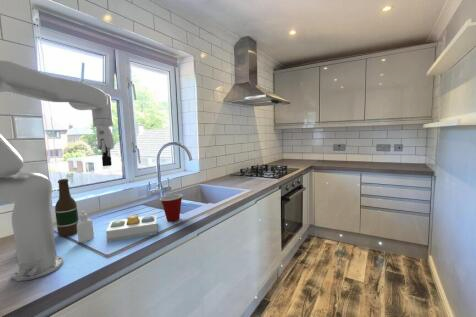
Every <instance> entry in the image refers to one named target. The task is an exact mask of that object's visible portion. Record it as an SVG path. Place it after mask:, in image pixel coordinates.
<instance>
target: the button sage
mask: <svg viewBox="0 0 476 317" xmlns="http://www.w3.org/2000/svg"><path fill="white" fill-rule="evenodd" d="M116 220H117V221H114V220H113V221H114V222H112V227H118V226H124V222H123V220H121V219H116Z"/></svg>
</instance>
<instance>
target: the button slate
mask: <svg viewBox="0 0 476 317" xmlns="http://www.w3.org/2000/svg"><path fill="white" fill-rule="evenodd" d="M145 216H146V217H143V218H142V219H143V223H145V222H152V221H153V216H150V215H145Z"/></svg>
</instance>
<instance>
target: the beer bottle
mask: <svg viewBox="0 0 476 317" xmlns="http://www.w3.org/2000/svg"><path fill="white" fill-rule="evenodd" d="M57 183H58V200H57V202H56V203H55V208H54V213H55V221H56V228H57V235H58V236H59V237H63V238H64V237H70V236H73V235H76V234H77V223H78V222H80V221H79V214H78V213H79V212H78V206H77V202H76V200H75V199H74V198H73V197H72V196H71V195H72V194H71V192H70V191H71V190H70V187H69V179H68V178H63V179H62V178H61V179H59V180H58V181H57Z"/></svg>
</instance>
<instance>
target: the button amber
mask: <svg viewBox="0 0 476 317" xmlns="http://www.w3.org/2000/svg"><path fill="white" fill-rule="evenodd" d="M138 217H139V215H138V214H136V215H135V214H133V215H129V216H127V218H126V219H127V221H128V225H132V224H138V223H139V219H138Z"/></svg>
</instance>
